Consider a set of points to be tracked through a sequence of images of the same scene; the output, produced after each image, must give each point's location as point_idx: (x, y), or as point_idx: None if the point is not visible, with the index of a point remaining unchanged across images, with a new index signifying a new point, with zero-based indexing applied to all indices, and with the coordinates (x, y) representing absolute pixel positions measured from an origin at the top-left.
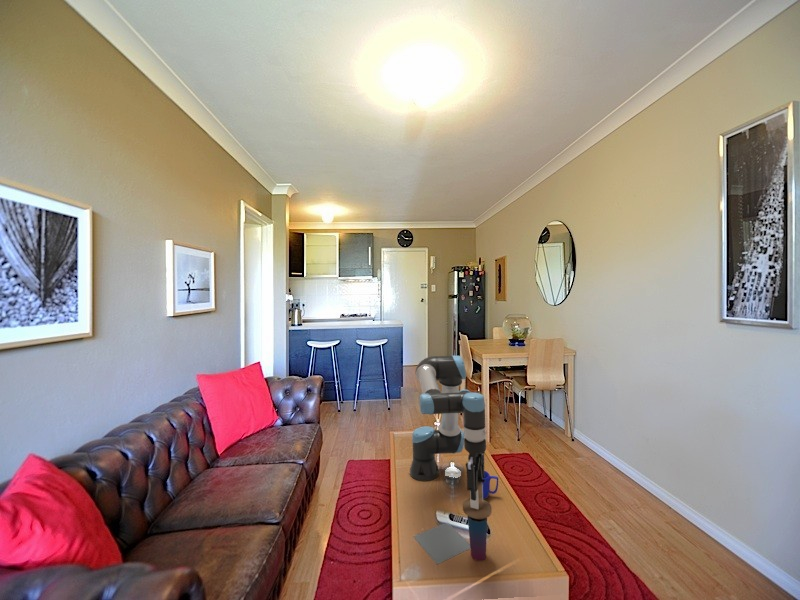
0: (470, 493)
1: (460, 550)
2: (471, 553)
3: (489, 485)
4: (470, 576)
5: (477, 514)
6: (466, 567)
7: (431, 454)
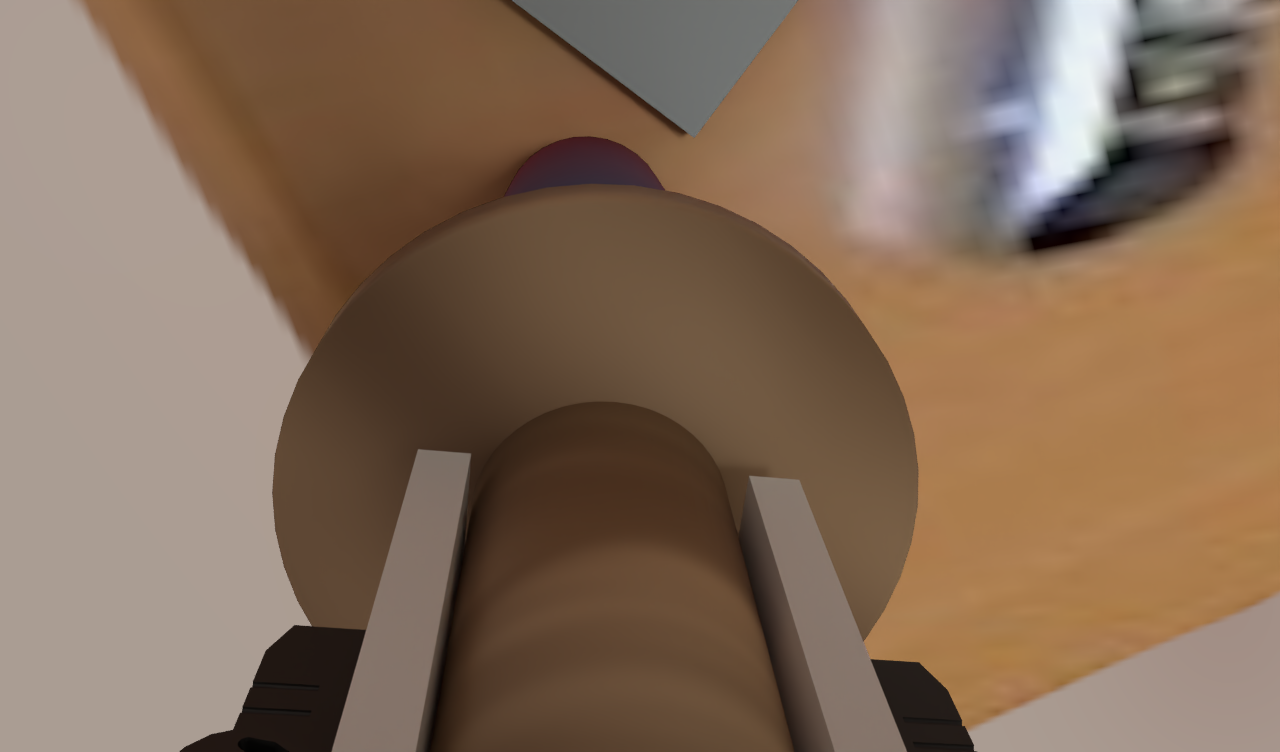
0: (356, 674)
1: (570, 2)
2: (527, 166)
3: None
4: (286, 196)
5: (323, 587)
6: (387, 124)
7: None
